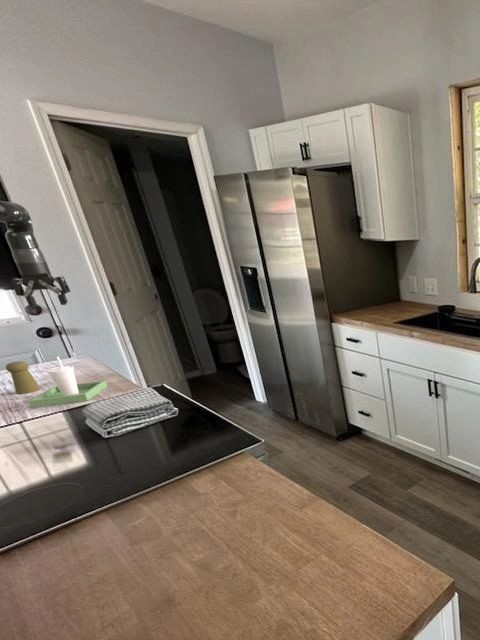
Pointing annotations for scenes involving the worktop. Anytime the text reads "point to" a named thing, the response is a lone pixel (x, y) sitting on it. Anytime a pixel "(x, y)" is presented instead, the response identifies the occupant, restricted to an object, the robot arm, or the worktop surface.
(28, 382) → the cork
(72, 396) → the tray
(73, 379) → the smoothie
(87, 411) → the towel
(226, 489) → the worktop surface
